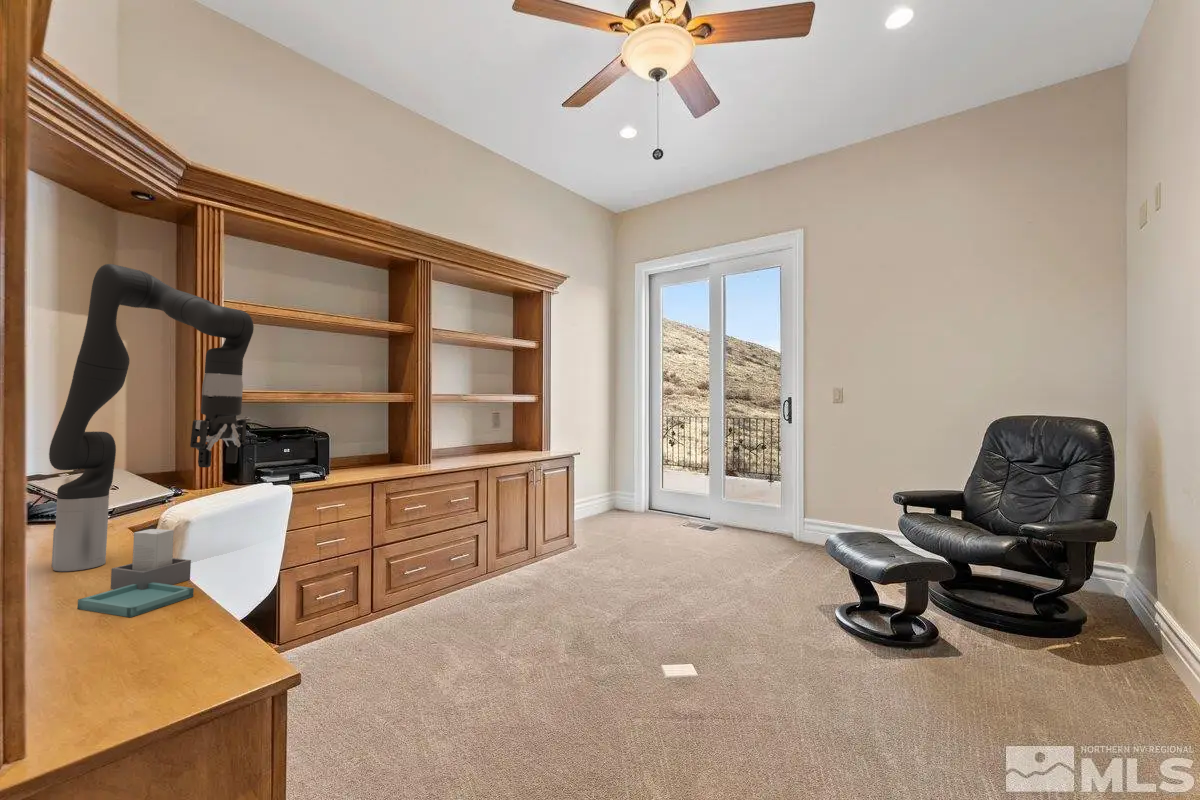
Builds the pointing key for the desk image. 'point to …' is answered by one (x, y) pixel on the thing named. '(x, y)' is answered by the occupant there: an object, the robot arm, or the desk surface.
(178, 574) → the holder
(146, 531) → the skincare box
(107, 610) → the tray
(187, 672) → the desk surface
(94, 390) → the robot arm
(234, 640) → the desk surface
